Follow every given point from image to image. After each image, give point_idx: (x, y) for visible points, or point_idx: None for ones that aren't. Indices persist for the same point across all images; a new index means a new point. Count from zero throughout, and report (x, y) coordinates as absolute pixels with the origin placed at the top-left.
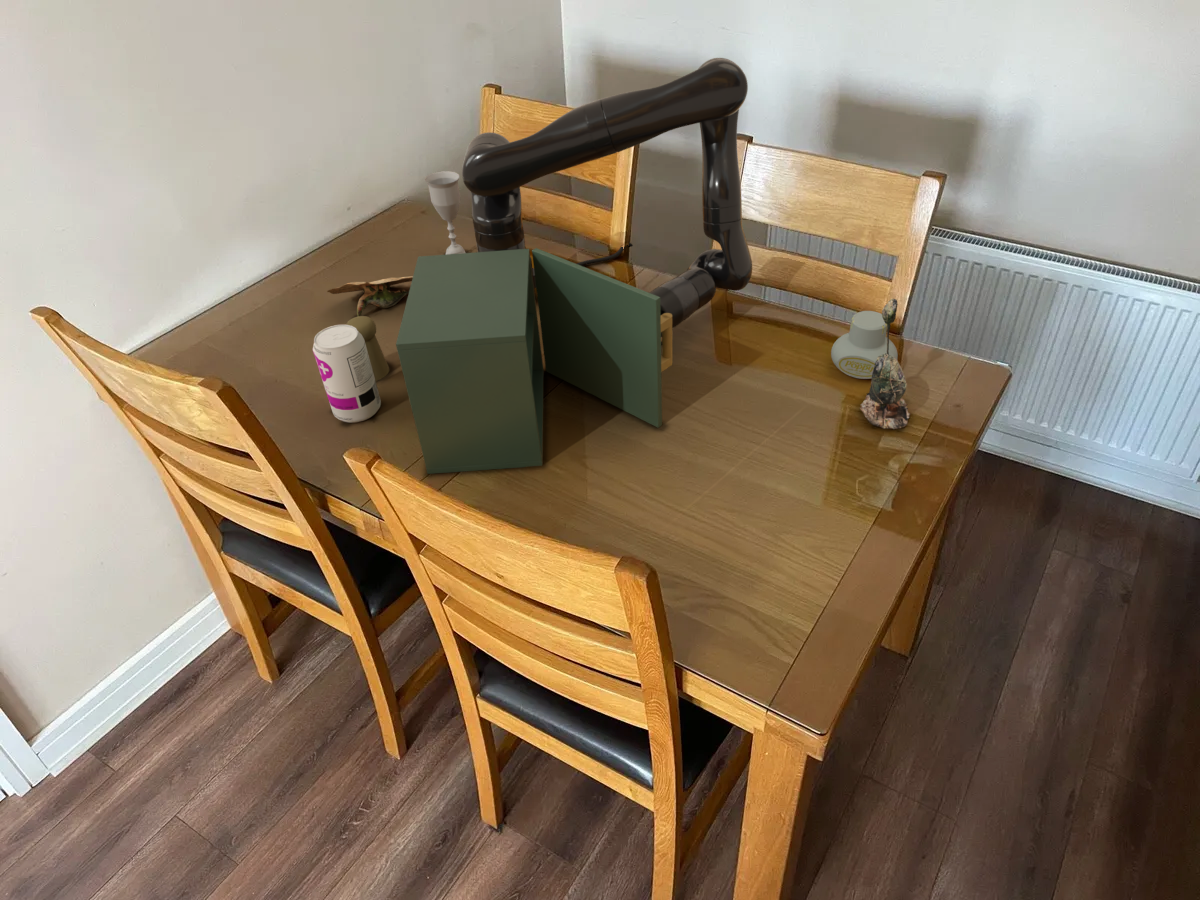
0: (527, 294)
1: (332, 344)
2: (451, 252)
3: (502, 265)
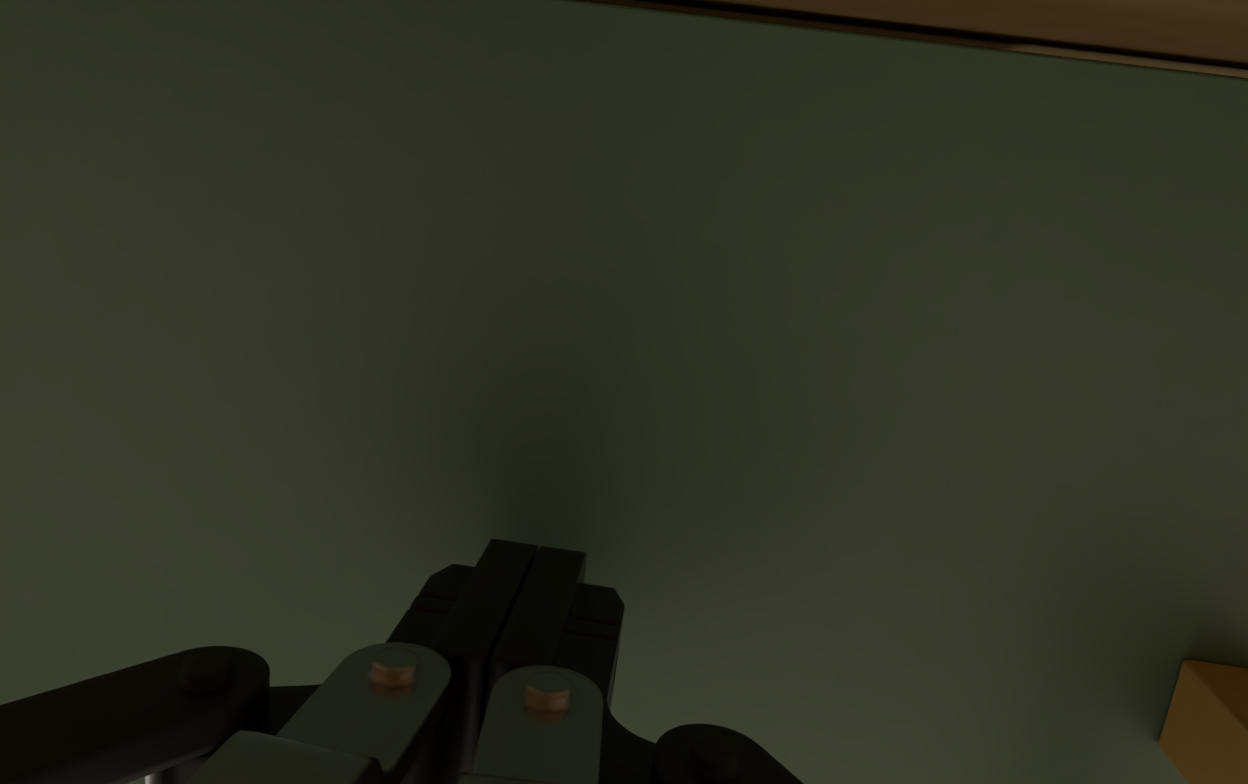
0: None
1: None
2: None
3: None
